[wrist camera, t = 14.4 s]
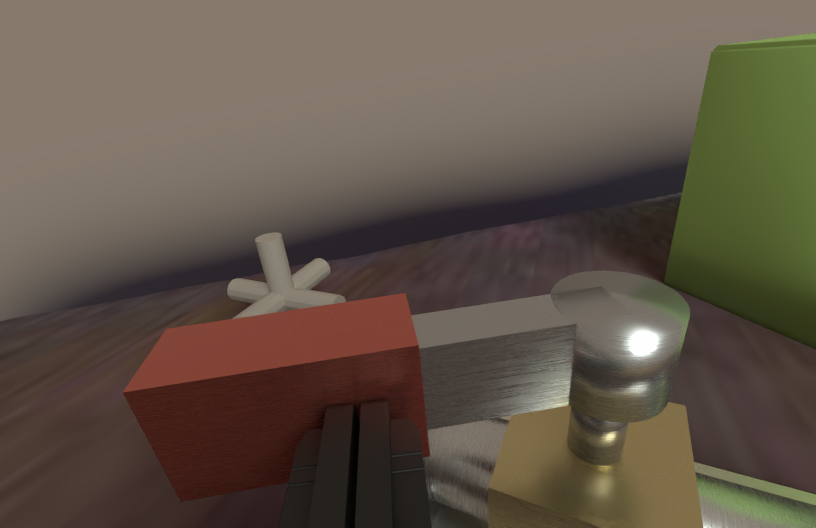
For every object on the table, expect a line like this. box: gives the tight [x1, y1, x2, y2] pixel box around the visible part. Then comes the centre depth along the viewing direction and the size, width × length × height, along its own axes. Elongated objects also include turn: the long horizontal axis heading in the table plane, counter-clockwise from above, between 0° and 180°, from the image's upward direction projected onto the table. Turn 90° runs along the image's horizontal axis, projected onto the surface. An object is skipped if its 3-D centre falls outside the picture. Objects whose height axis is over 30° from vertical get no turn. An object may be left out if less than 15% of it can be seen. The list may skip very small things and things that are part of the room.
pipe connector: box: [227, 233, 346, 319], centre depth 31 cm, size 10×10×10 cm
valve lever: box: [123, 271, 690, 502], centre depth 12 cm, size 15×4×4 cm, turn 98°
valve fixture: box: [423, 402, 816, 528], centre depth 16 cm, size 22×12×10 cm, turn 65°
